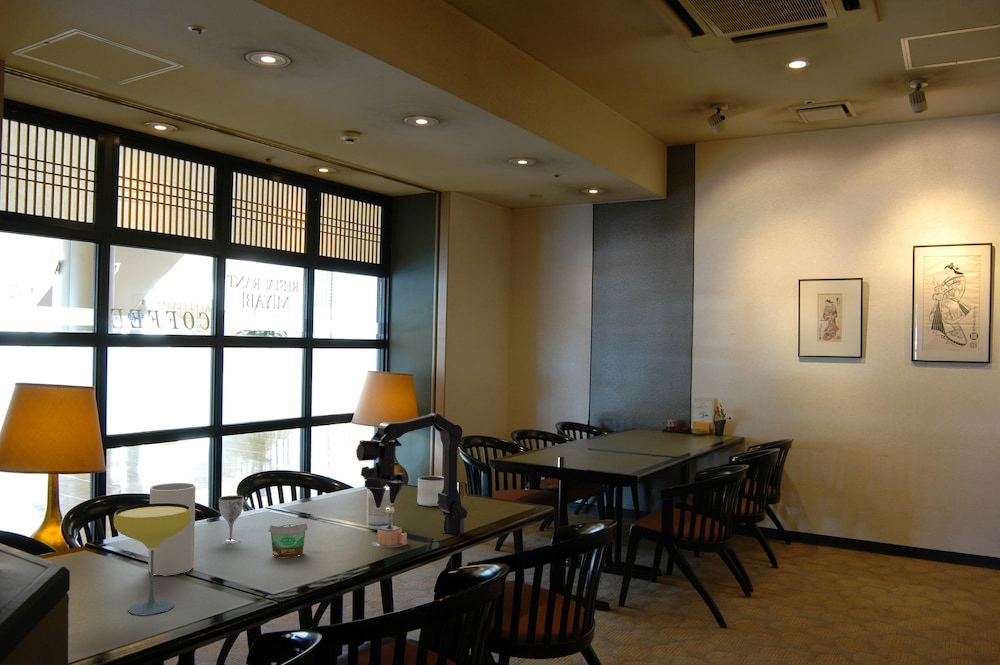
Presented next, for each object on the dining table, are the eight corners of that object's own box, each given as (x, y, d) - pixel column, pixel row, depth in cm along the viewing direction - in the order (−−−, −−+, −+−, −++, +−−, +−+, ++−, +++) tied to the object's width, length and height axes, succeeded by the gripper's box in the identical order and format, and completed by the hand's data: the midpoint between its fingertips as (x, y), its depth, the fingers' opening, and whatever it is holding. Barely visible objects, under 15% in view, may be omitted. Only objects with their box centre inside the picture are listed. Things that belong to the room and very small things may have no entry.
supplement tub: (396, 529, 289) (397, 489, 290) (373, 532, 284) (373, 491, 284) (385, 523, 297) (386, 485, 298) (362, 526, 292) (362, 487, 292)
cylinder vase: (165, 579, 224) (167, 492, 225) (139, 572, 231) (141, 487, 231) (202, 569, 235) (204, 485, 235) (176, 562, 242) (178, 481, 242)
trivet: (413, 542, 269) (413, 541, 269) (394, 551, 258) (394, 549, 258) (384, 538, 274) (384, 537, 274) (364, 546, 263) (364, 544, 263)
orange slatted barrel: (410, 542, 267) (411, 527, 267) (397, 547, 260) (398, 532, 260) (386, 539, 272) (386, 524, 272) (372, 544, 264) (373, 529, 264)
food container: (272, 560, 245) (272, 528, 245) (268, 556, 250) (268, 524, 251) (311, 556, 251) (311, 525, 251) (306, 551, 256) (307, 521, 256)
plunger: (400, 530, 268) (400, 507, 268) (391, 533, 263) (392, 510, 263) (387, 528, 270) (387, 506, 270) (378, 531, 265) (379, 508, 265)
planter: (445, 507, 329) (445, 480, 329) (415, 507, 329) (416, 480, 329) (447, 501, 341) (448, 475, 342) (419, 501, 342) (419, 475, 342)
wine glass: (247, 540, 270) (248, 496, 270) (231, 545, 263) (231, 500, 263) (230, 537, 273) (231, 494, 273) (213, 542, 266) (213, 498, 266)
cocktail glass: (119, 625, 187) (121, 521, 188) (105, 605, 202) (107, 507, 202) (197, 611, 198) (199, 512, 198) (179, 592, 213) (181, 500, 213)
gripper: (380, 454, 279) (378, 498, 279) (351, 460, 262) (349, 507, 262) (408, 457, 275) (406, 502, 275) (380, 463, 258) (378, 511, 257)
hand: (385, 505), depth 267 cm, fingers open, 9 cm apart
